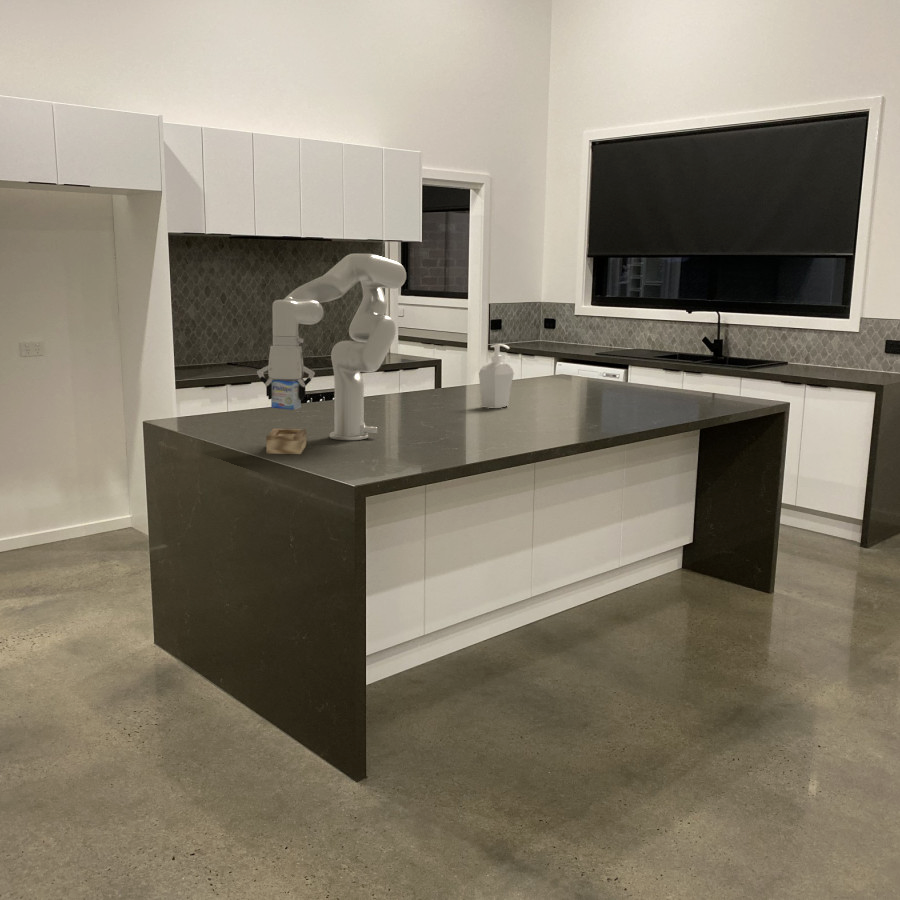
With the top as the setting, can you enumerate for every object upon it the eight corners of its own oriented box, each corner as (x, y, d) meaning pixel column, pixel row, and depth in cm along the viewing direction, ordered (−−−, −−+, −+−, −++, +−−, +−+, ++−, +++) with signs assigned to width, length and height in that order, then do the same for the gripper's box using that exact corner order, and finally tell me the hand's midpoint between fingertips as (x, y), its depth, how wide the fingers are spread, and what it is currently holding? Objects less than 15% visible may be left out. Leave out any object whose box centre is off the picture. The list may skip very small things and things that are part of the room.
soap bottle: (497, 410, 363) (499, 345, 357) (477, 407, 369) (479, 344, 364) (515, 407, 372) (518, 344, 367) (496, 404, 378) (498, 342, 373)
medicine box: (270, 408, 273) (270, 379, 271) (278, 406, 277) (278, 377, 276) (293, 410, 271) (293, 381, 269) (301, 408, 275) (301, 379, 273)
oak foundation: (306, 445, 283) (306, 429, 282) (300, 454, 270) (300, 437, 269) (273, 445, 283) (273, 428, 282) (266, 453, 270) (266, 436, 269)
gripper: (316, 341, 274) (316, 398, 277) (258, 340, 273) (259, 396, 277) (313, 343, 266) (313, 401, 270) (254, 342, 266) (254, 400, 269)
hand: (286, 399), depth 273 cm, fingers closed on medicine box, 9 cm apart
